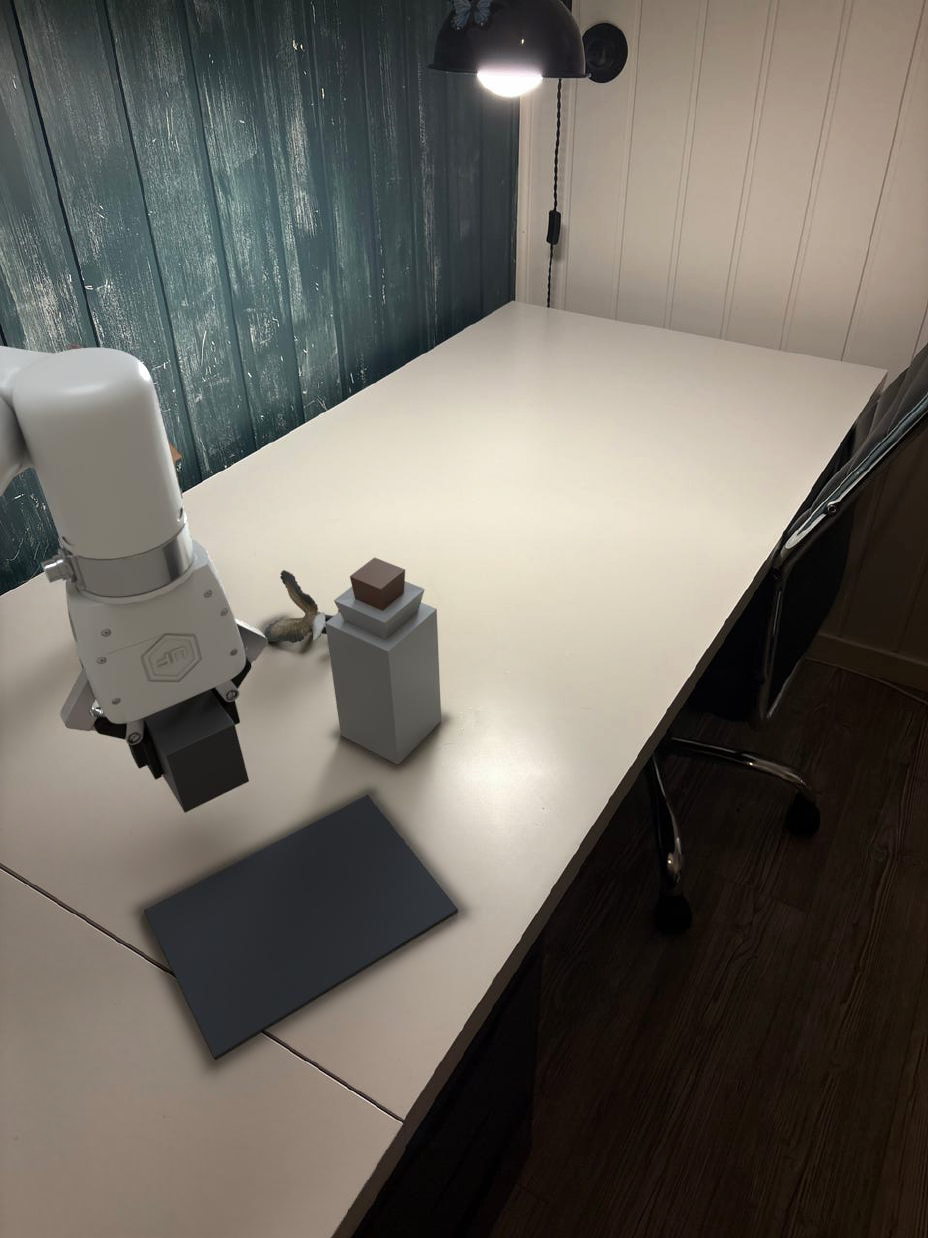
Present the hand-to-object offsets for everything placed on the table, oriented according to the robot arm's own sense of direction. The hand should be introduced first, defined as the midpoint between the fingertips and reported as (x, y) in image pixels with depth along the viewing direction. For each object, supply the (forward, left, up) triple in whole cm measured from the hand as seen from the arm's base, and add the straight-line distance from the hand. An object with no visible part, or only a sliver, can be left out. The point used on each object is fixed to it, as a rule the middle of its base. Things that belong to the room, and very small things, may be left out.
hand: (189, 747), depth 69 cm
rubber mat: (+3, -10, -12) cm, 15 cm away
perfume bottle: (+19, +3, -12) cm, 22 cm away
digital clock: (0, 0, -1) cm, 1 cm away
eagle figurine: (+19, +20, -12) cm, 30 cm away
